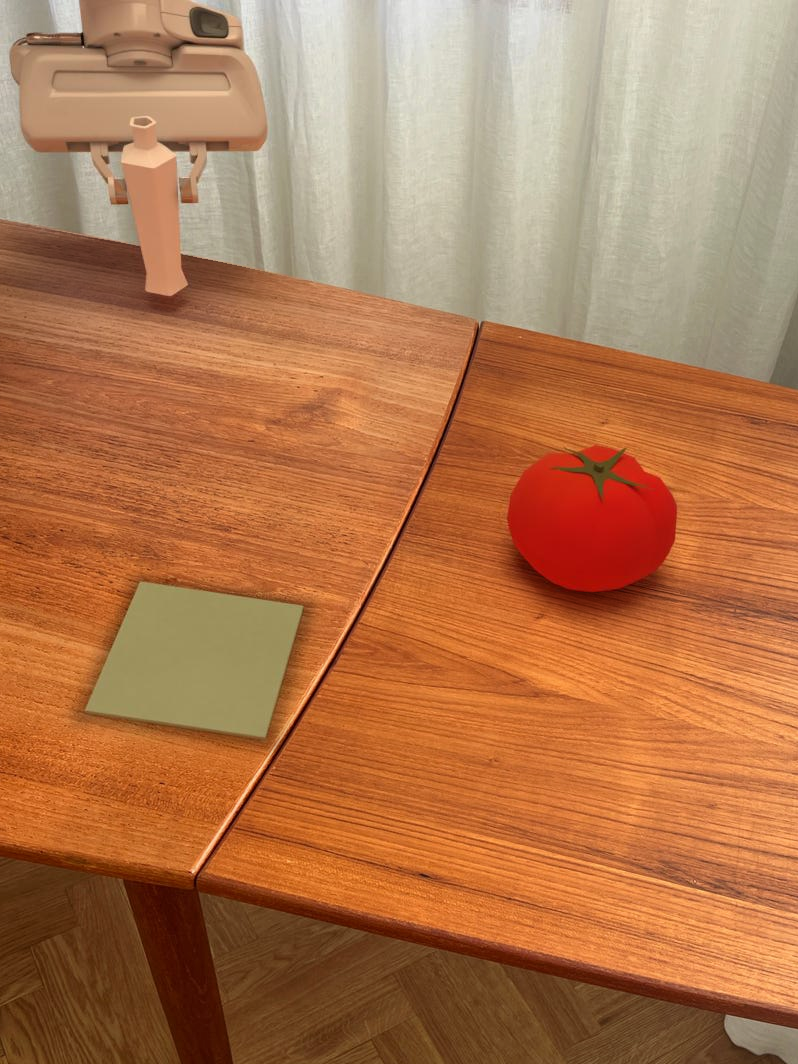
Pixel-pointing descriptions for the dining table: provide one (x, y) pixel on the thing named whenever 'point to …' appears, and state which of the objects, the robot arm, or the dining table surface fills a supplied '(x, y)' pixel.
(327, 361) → the dining table surface
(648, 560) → the tomato
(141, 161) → the perfume bottle
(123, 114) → the robot arm
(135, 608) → the front mat
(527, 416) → the dining table surface
